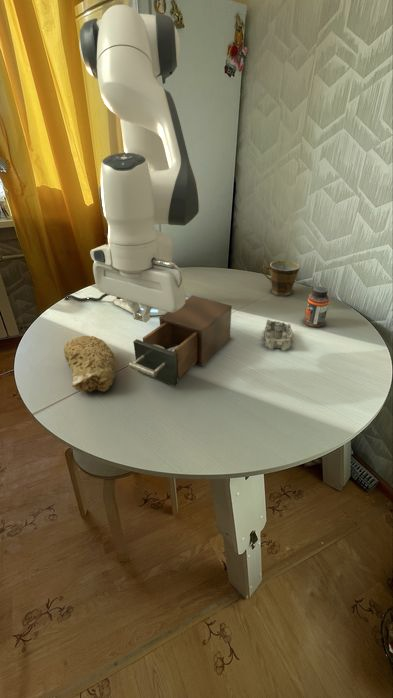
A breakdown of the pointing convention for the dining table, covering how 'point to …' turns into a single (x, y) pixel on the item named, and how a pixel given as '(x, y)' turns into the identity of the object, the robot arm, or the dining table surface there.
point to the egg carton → (277, 335)
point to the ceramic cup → (282, 276)
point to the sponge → (90, 363)
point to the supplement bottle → (317, 307)
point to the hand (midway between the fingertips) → (141, 319)
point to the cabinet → (203, 324)
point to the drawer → (166, 353)
